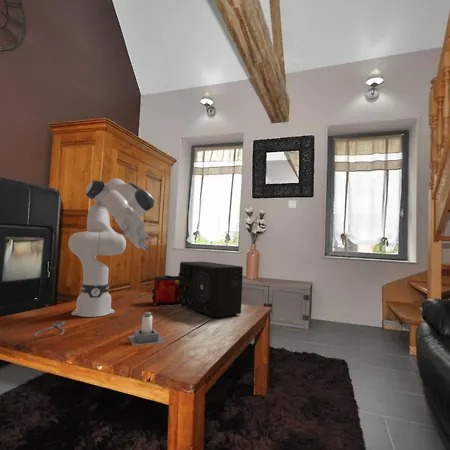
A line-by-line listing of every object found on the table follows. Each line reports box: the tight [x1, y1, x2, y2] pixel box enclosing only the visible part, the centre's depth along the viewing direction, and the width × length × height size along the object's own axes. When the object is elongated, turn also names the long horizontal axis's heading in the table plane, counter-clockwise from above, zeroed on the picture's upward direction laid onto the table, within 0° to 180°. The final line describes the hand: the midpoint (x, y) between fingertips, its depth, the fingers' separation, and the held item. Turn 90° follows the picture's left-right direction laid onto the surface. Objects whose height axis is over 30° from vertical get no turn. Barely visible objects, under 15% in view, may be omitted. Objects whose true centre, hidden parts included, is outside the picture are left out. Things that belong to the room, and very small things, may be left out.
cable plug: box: [141, 311, 153, 334], centre depth 109 cm, size 4×4×9 cm
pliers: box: [33, 320, 66, 337], centre depth 119 cm, size 10×1×20 cm
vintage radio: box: [177, 261, 244, 319], centre depth 164 cm, size 38×20×25 cm, turn 39°
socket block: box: [128, 328, 166, 346], centre depth 109 cm, size 11×11×4 cm
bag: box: [151, 274, 180, 307], centre depth 181 cm, size 30×14×16 cm, turn 124°
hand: (147, 244), depth 122 cm, fingers open, 8 cm apart
